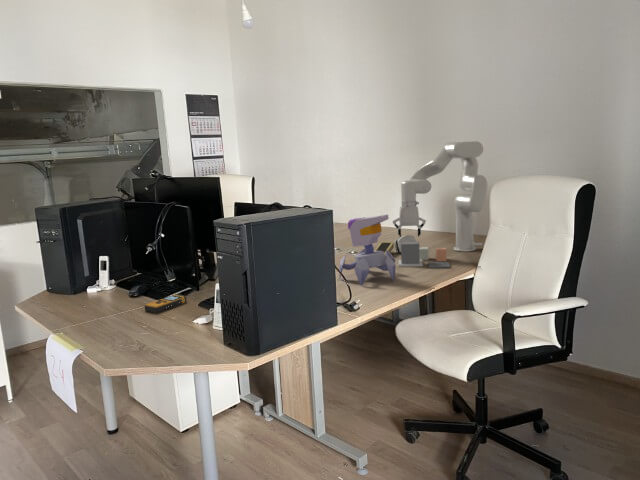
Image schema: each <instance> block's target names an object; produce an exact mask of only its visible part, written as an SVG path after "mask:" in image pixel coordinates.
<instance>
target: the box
mask: <svg viewBox="0 0 640 480" xmlns="http://www.w3.org/2000/svg"><path fill="white" fill-rule="evenodd" d="M394 242H395V241H394ZM394 242H393V241H391V242H390V241H380V242H379V244H378V245H377V246H376V248H375V249H374V251H383V252H384V255H385V252H386V250H387V251H388V252H389V253H391V252H392V251H393V249H394V248H395V244H394ZM385 259H386V255H385Z"/></svg>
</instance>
